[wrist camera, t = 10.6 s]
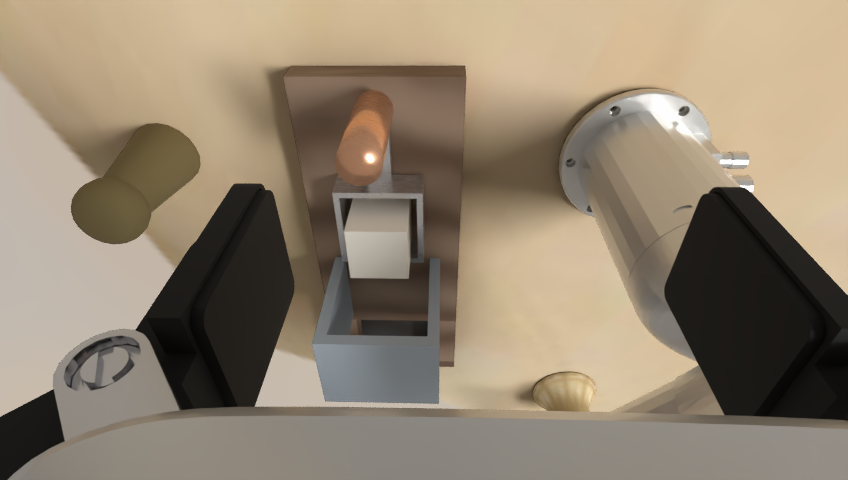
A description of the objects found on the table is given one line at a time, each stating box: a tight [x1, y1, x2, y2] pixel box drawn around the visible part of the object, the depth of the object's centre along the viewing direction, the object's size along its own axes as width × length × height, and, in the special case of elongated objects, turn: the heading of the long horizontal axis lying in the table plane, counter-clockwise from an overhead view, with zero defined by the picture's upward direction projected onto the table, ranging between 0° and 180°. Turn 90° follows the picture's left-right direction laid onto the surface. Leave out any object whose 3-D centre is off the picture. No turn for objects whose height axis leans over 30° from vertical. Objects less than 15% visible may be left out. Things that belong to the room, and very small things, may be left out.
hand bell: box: [533, 372, 596, 412], centre depth 58 cm, size 8×8×16 cm
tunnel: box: [312, 257, 440, 404], centre depth 46 cm, size 8×10×11 cm
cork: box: [71, 123, 200, 244], centre depth 40 cm, size 6×6×11 cm
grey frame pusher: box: [332, 90, 425, 263], centre depth 38 cm, size 15×7×10 cm, turn 1°
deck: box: [283, 66, 466, 367], centre depth 48 cm, size 35×14×2 cm, turn 1°
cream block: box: [344, 198, 412, 279], centre depth 42 cm, size 5×5×6 cm
